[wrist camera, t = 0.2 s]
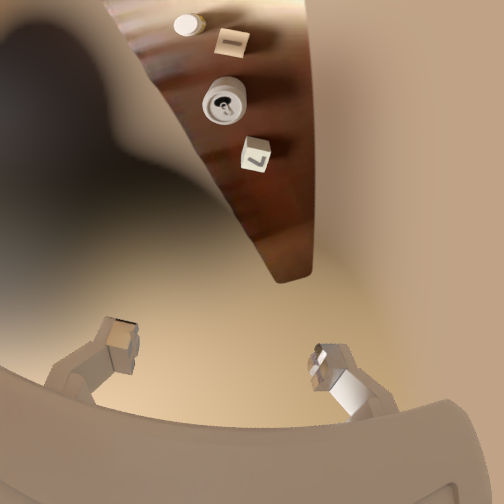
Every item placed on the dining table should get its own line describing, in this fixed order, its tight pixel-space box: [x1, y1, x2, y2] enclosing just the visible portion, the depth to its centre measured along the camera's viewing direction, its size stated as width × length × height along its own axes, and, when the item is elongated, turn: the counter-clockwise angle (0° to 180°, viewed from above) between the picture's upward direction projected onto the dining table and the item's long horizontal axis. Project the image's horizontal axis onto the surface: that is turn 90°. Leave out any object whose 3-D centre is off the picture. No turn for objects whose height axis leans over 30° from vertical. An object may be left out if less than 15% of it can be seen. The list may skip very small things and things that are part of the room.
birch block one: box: [214, 28, 250, 58], centre depth 38 cm, size 5×5×6 cm
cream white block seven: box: [241, 136, 271, 172], centre depth 56 cm, size 5×5×6 cm
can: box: [203, 76, 247, 125], centre depth 44 cm, size 8×8×12 cm
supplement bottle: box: [174, 13, 206, 36], centre depth 34 cm, size 5×5×8 cm
